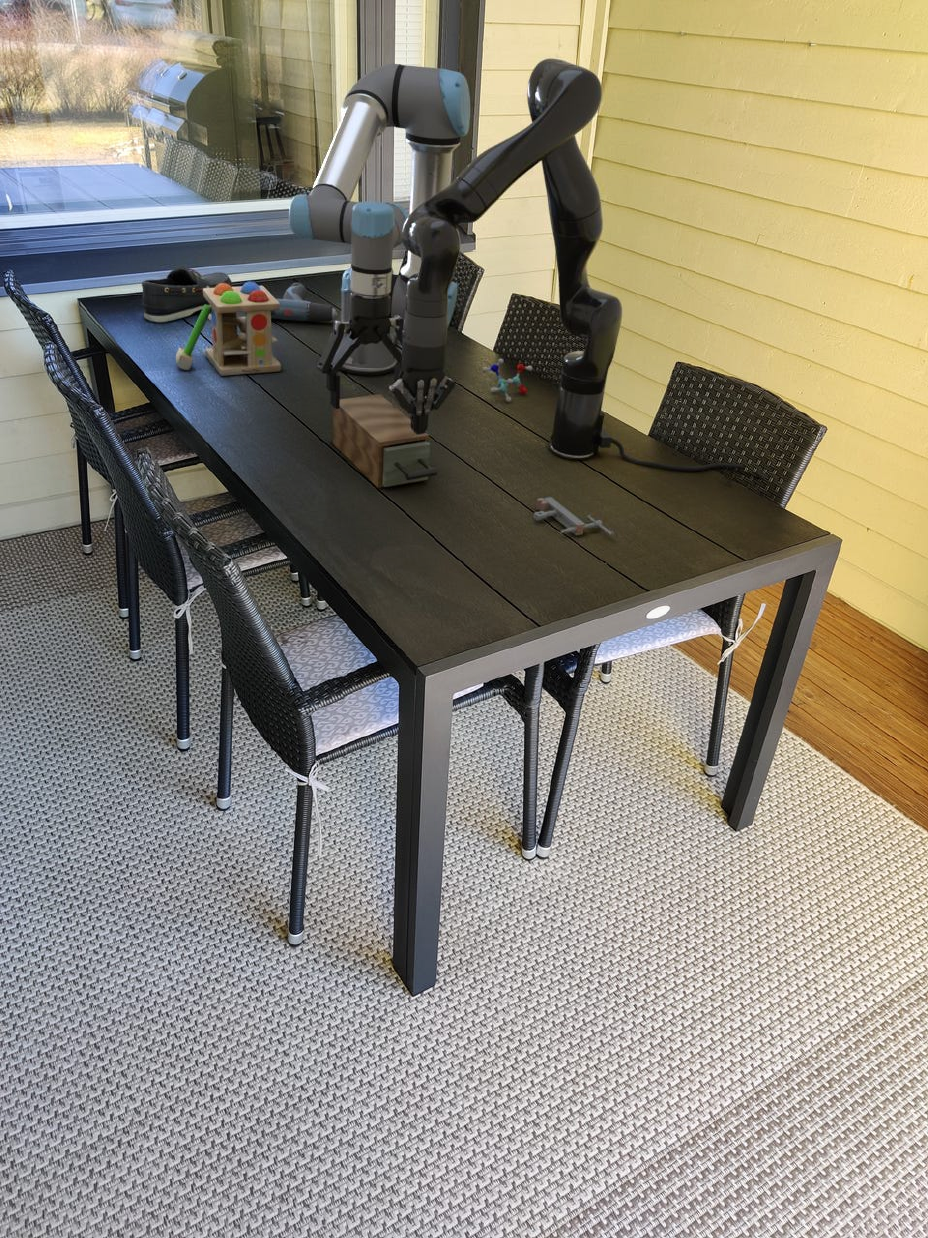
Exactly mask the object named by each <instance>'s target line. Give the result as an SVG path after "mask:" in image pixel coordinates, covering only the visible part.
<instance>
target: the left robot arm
mask: <svg viewBox="0 0 928 1238" xmlns="http://www.w3.org/2000/svg"><path fill="white" fill-rule="evenodd" d="M469 88H470V87H469V85H468V81H467V78H466V77H465V75H463V73H461V72H459V71H455V70H450V69H446V68H438V67H430V66H429V67H428V66H417V65H408V64H407V65H406V64H400V63H389V64H384V65H381V66H378V67H376V68H374V69H372V70H370V71H368V73H366V74H364V75H363V76H361V78H359V80H357V81H356V82H355V84H353V86H352V87H351V88H350V89H349V91H348V92H347V93H346V96H345V97H344V100H343V102H342V103H341V107H340V108H341V109H340V113H341V121H340V122H339V125H338V127H337V130H336V132H335V134H334V137H333V139H332V141H331V144H330V147H329V149H328V150H327V153H326V156H325V158H324V160H323V163H322V165H321V168H320V170H319V172H318V175H317V177H316V179H315V181H314V184H313V186H312V189H311V190H310V193H309V195H308V194H307V193H304V194H296V195H294V196H293V197H292V199H291V201H290V204H289V209H288V222H289V226H290V231H291V232H292V233H293V234H294V235H295V236H297V237H301V238H306V239H310V240H313V241H315V240H316V241H317V240H318V241H325V242H333V243H343V244H347V245H350V267H349V268H346V270H345V271H344V272H343V274H342V281H341V287H340V292H341V316H340V317H341V319H340V320H339V319H334V321H333V325H332V332H331V334H330V336H329V338H328V341H327V342H326V344H325V347H324V349H323V351H322V354H321V356H320V358H319V360H318V362H317V364H316V368H317V370H318V371H320V372H321V374H324V375H325V374H326V382H325V383H326V385H325V386H326V389H327V390H328V391H329V393H330V403H329V404H330V406H332V408H333V407H334V408H335V409H340V399H341V374H338V373H339V371H342V372H344V373H347V374H352V375H356V376H380V375H381V376H382V375H386V374H389V373H391V372H393V384H394V383H395V382H397V381H398V380H399V374H400V372H401V370H402V351H400V350H399V349H398V347H397V345H396V344H397V340H398V342H399V343H400V344H399V345H400V346H401V347H402V340H403V336H402V333H403V322H404V317H405V310H406V290H407V282H408V280H409V278H410V277H411V276H412V275H413V274H415V273H419V270H420V266H421V258H420V257H418V256H416V255H414V254H413V253H411V252H410V251H408V250H407V262H406V263H405V264H404V265H403V266H402V267H401V268H400V271H399V272H400V273H399V274H394V273H395V272H394V268H393V254H394V253H393V252H394V249H395V248H397V247H398V246H400V245H402V244H403V241H402V229H403V226H404V223H405V221H406V219H407V218H408V216H409V215H410V214H411V213H412V212H413V211H414V210H415V209H416V208H417V207H418V206H419V205H421V204H422V203H424V202H425V201H426V200H428V199H429V198H431V197H432V196H434V195H435V194H437V193H438V192H440V191H442V190H443V189H445V188H447V187H448V186H449V185H450V184H451V183H452V181H451V180H452V166H453V165H452V164H453V152H454V151H456V149H457V148H458V147H459V146H460V145H461V139H462V137H465V136H467V135H468V133H469V130H470V120H471V96H470V89H469ZM386 128H398V129H403V130H404V129H405V141H406V142H407V144H408V145H409V146H410V148H411V167H410V168H411V171H410V190H409V191H410V193H409V213H408V212H407V210H406V209H405V207H403V206H402V205H400V203H397V202H392V201H390V202H381V201H373V200H366V201H353V200H352V198H353V196H354V194H355V191H356V188H357V186H358V183H359V181H360V179H361V176H362V173H363V171H364V169H365V166H366V164H367V162H368V159H369V157H370V153H371V151H372V149H373V146H374V144H375V142H376V139H377V138H378V137H380V136H381V135H382V134H383V133H384V132H385V130H386ZM458 288H459V287H458V283H456V282H455V281H451V283H450V286H449V290H448V306H447V328H449V325H450V323H451V320H452V318H453V316H454V314H455V313H456V312H457V311H458V310H457V308H456V302H457V297H458ZM455 308H456V309H455ZM391 328H392V329H394V332H395V335H394V336H393V337H391V336H392V335H391Z"/></svg>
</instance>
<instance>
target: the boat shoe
mask: <svg viewBox="0 0 928 1238" xmlns="http://www.w3.org/2000/svg"><path fill="white" fill-rule="evenodd" d="M221 283H226V284H228V285H230V286H231V287H234V286H233V282H232V278H230V276H229V275H228V274H227V273H226V272H222V271H221V272H213V273H212V272H211V273H207V274H203V275H201V273H199V272H198V271H197V270H195V269H194V268H189V267H185V266H178V267H176V268H174V269H172V270H171V271H170V272H169V273H168V274H167V276H166V277H165V278H159V279H144V280H142V281H141V287H142V303H141V307H142V308H144V310H143V314H144V315H143V316H144V319H145V320H148V321H149V322H154V323H166V322H171V321H175V320H178V319H182V318H186V317H189V316H191V315H193V314H194V313H196V312H199V311H200V310H201V311H202V309H203V307H204V305H208V306H210V307H211V305H210V304H209V302H208V301H207V300H206V299H205V297H204V296H203V289H204V288H215V287H216V286H217V285H218V284H221Z"/></svg>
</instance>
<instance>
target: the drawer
mask: <svg viewBox="0 0 928 1238" xmlns="http://www.w3.org/2000/svg"><path fill="white" fill-rule="evenodd" d="M430 454H431V443H430V442H428V441H426V442H421V440H419V441H413V442H406V443H400V444H393V445H387V446H383V465H382V479H383V480H382V485H383V486H384V487H383V488H388V487H394V486H398V485H404V484H410V483H416V482H423V481H428V480H429V477H434V476H437V475H438V470H437V469H438V468H436V467H432V466H430V456H431V455H430Z"/></svg>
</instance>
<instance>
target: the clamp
mask: <svg viewBox="0 0 928 1238" xmlns="http://www.w3.org/2000/svg"><path fill="white" fill-rule="evenodd" d="M536 500H537V501H536V505H535V510H539V511H536V512H534V513H533V519H534V520H536V521H543V520H547V518H548V517H549V518H550V517H553V518H554V519H555V520H556V521H557V522H558V523H560V524H561V525H563V526H564V527H565V529H561V530H560V532H559V533H560V534H568V533H569V534H570V533H572V534H574V535H575V536H582V535H583V534H584V530H587V529H591V528H594V529H598V528H600V529H601V530H603V531H604V532H605V533H606V534H607V535H608V536H609V537H613V536H614V535H615V533H614V531H611V530H609V529H608V528H606V527H605V526H603V521H602V520H601V519H598V520H595V518H593V517H592V515H590V514H588V515H587V516H586V520H587V521H591V522H590V523H585V522H584V521H582V520H581V519H580V518H579V517H577V516H576V515H574V514H573V513H572V512H571V511H569V510H568V509H567V508H566V507H564V506H563V505H562V504H560V503H559V502H558V501H556V499H554V498H553V497H551V496H549V497H545V498H543V497H540V498H537V499H536Z"/></svg>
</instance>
